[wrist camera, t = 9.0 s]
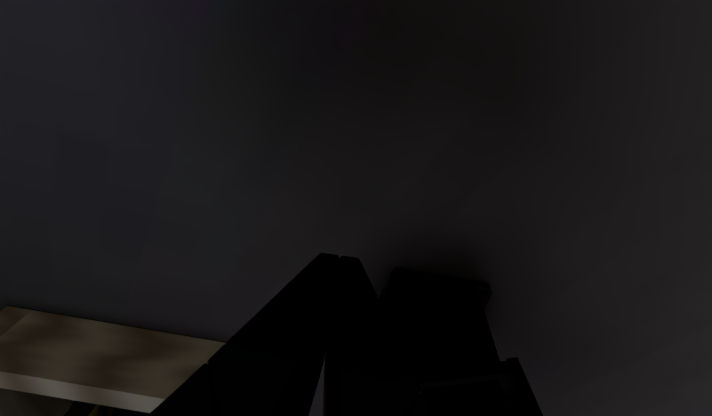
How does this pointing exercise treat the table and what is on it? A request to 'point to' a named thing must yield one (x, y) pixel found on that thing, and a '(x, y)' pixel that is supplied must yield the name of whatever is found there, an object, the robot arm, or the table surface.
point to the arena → (89, 363)
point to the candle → (99, 410)
